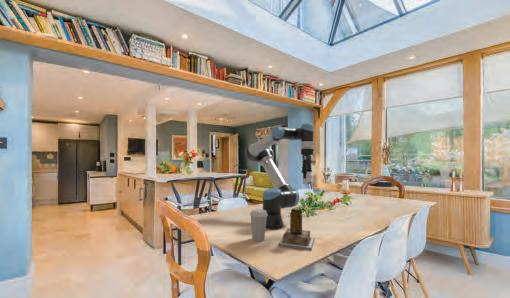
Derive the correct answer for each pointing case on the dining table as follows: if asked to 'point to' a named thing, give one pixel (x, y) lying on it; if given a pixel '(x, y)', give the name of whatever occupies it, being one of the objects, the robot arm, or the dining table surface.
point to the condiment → (296, 223)
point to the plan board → (298, 245)
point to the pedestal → (296, 238)
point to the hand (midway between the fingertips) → (306, 183)
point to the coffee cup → (258, 224)
